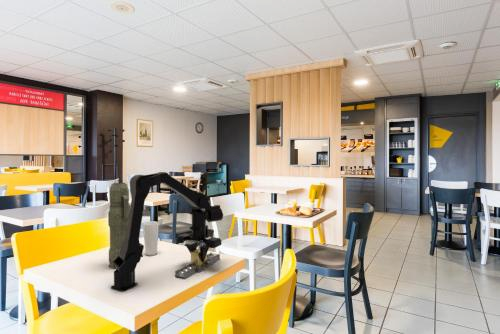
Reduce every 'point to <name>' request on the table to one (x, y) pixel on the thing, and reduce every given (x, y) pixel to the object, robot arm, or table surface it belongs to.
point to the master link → (197, 258)
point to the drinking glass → (150, 237)
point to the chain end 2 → (212, 258)
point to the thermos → (118, 218)
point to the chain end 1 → (188, 271)
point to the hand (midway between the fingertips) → (199, 261)
